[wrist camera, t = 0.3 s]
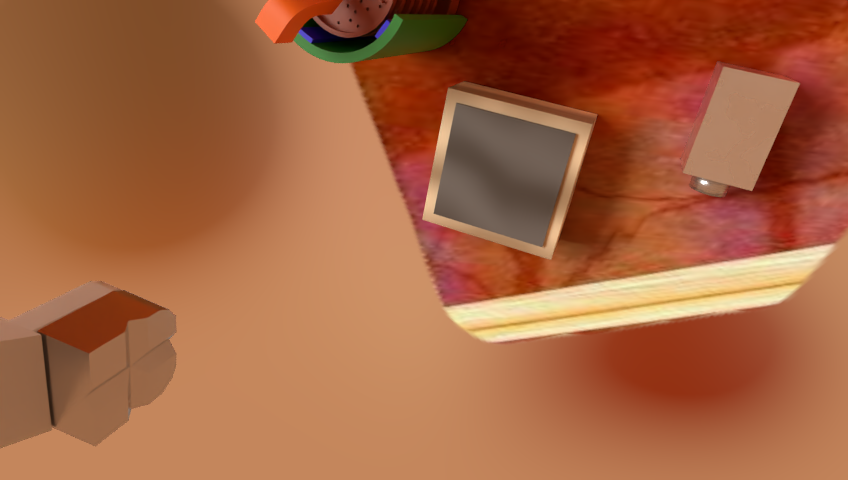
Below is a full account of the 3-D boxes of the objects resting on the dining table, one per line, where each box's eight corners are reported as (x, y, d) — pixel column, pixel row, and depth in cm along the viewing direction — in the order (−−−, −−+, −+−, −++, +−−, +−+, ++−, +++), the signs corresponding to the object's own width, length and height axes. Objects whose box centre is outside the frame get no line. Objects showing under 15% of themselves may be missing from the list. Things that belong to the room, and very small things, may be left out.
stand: (465, 81, 53) (447, 88, 49) (597, 114, 50) (592, 125, 46) (439, 203, 58) (421, 220, 54) (558, 239, 55) (550, 261, 51)
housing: (717, 61, 46) (723, 66, 42) (785, 76, 45) (799, 83, 41) (674, 173, 50) (676, 189, 46) (736, 190, 49) (744, 208, 45)
